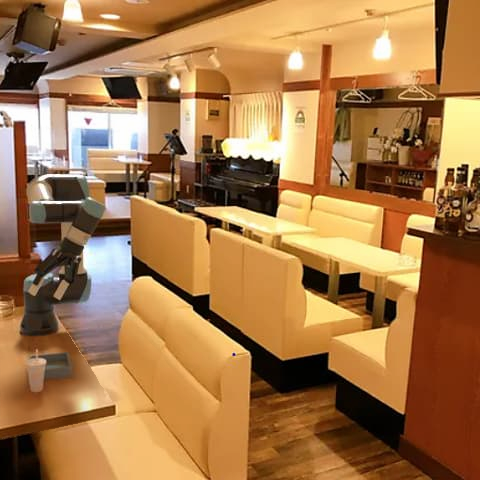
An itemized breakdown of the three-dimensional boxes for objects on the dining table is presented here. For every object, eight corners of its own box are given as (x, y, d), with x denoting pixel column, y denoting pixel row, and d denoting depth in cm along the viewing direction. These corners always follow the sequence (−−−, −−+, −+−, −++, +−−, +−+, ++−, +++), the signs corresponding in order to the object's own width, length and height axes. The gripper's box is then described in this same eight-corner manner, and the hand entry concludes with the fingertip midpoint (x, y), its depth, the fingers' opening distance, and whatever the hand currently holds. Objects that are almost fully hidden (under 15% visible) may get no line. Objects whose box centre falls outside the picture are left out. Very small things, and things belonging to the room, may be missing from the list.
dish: (28, 365, 202) (28, 355, 201) (68, 361, 207) (68, 351, 207) (29, 381, 190) (29, 371, 189) (72, 376, 195) (72, 366, 194)
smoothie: (34, 396, 180) (34, 354, 177) (21, 390, 183) (20, 349, 181) (51, 388, 185) (50, 348, 183) (38, 383, 189) (37, 343, 186)
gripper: (60, 238, 179) (27, 297, 179) (102, 252, 202) (73, 304, 202) (44, 228, 182) (11, 286, 181) (87, 243, 205) (59, 294, 205)
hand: (44, 296), depth 192 cm, fingers open, 13 cm apart
